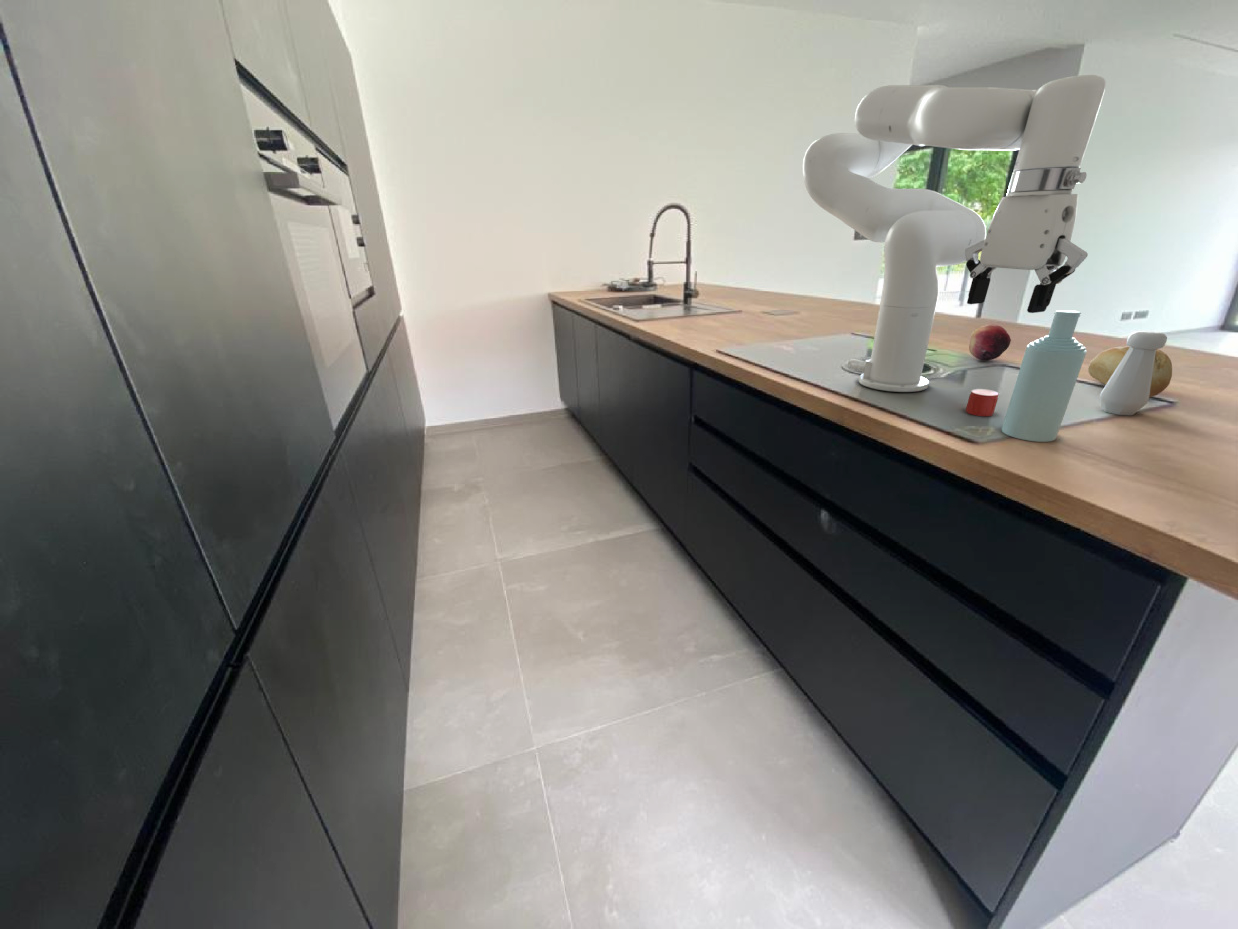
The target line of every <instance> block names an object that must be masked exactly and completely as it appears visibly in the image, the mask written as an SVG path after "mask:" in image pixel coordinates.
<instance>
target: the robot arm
mask: <svg viewBox="0 0 1238 929" xmlns="http://www.w3.org/2000/svg"><path fill="white" fill-rule="evenodd" d="M1106 87H1107V81H1106V78H1104V77H1103V76H1101V75H1097V74H1082V75H1073V76H1068V77H1067V76H1066V77H1062V78H1058V79H1054V80H1050V81H1049V82H1046V83H1044V84H1043V85H1042V86H1041V87H1039V88H1038V89H1020V88H1011V87H1010V88H1009V87H992V86H991V87H990V86H989V87H988V86H987V87H985V86H980V87H979V86H978V87H977V86H972V87H970V86H967V87H963V86H960V87H957V86H956V87H953V86H952V87H951V86H950V87H949V86H946V85H944V84H887V85H882V86H879V87H876V88H874V89H872V90H871V91H869V92H868V93H866V94H865V95H864V96H863V97H862V99H861V100H860V101H859V103H858V104H857V107H856V108H855V111H854V112H855V113H854V126H855V128H856V131H857V132H858V133H857V132H837V133H835V132H834V133H830V134H825V135H823V136H821V137H819V138H817V139H816V140H814V141H813V142H812V143H811V144H810V145H809V146H808V148H806V151H805V153H804V156H803V160H802V177H803V182H804V186H805V188H806V191H807V193H808V194H809V197H810V198H811V199H812V200H813V202H815V204H816V205H818V206H819V207H820V208H822V209H823V210H824V211H826V212H827V213H829V214H831V215H832V216H834V217H835V218H837V219H838V220H840V221H841V222H842V223H843V224H845V225H846V226H848V227H849V228H850V229H852V230H854V232H857V233H859V235H861V236H863V237H864V238H865V239H867V240H868V241H871V242H872V243H873V242H874V243H884V246H883V258H884V259H883V260H884V272H883V273H884V274H883V282H882V283H883V284H882V292H881V297H880V303H879V309H878V315H877V320H876V327H875V333H874V338H873V344H872V348H871V354H870V355H871V357H870V358H869V359H865V360H861V359H860V360H859V359H854V358H850V359H849V360H848V362H847V368H848V369H850V370H851V371H860V372H861V374H860V375H859V377H858V382H859V384H861V385H862V386H864V387H867V388H870V389H873V390H877V391H878V390H879V391H882V392H883V391H885V392H892V393H914V392H920V391H921V392H922V391H924V390H926V389H928V388H929V384H930V381H929V380H928V379H927V378H925V377H924V376H922V374H923V369H924V365H925V361H926V357H927V356H926V355H927V352H928V346H929V344H930V338H931V333H932V328H933V325H934V321H935V320H934V319H935V317H936V316H935V315H936V310H937V307H938V301H939V296H940V280H939V276H938V269H937V268H939V267H949V266H951V267H952V266H957V265H960V264H963V263H965V262H966V264H965V266H966V268H967V270H968V272H969V278H970V279H972V280H971V283H970V287H969V290H968V294H967V301H966V304H968V305H978V304H983V303H984V302H985V300H986V297H987V293H988V290H989V288H990V287H989V286H990V283H991V277H989V275H991V273H993V272H994V271H995V270H996V269H1008V270H1009V269H1011V270H1025V271H1026V270H1027V271H1034V272H1035V274H1036V276H1037V278H1038V280H1039V284H1035V286H1034V287H1033V290H1032V293H1031V297H1030V300H1029V302H1028V306H1027V308H1026V312H1027V313H1030V314H1035V313H1036V314H1037V313H1044V312H1045V311H1046V310H1047V308H1048V307H1049V306H1050V304H1051V301H1052V298H1053V295H1054V292H1055V289H1056V286H1057V285H1058V284H1061V283H1062V282H1063V280H1065V279H1067V278H1068V277H1069V276H1071V275H1072V274H1074V273H1075V271H1076V270H1077V268H1079V266H1080V265H1081V264H1083V262H1084V261H1085V260H1086V259H1087V257H1088V254H1089V253H1088V252H1087V251H1086V250H1084V249H1082V248H1081V247H1079V246H1078V245H1076V244H1075V243H1073V242H1072V241H1071V240H1072V237H1073V232H1074V228H1075V224H1076V218H1077V213H1078V212H1077V211H1078V202H1079V193H1073V190H1075V188H1076V185H1077V184H1083V183H1084V182H1085V181H1086V179H1087V172H1086V171H1081V165H1082V162H1083V159H1084V157H1085V152H1086V150H1087V147H1088V144H1089V142H1090V139H1091V138H1090V137H1091V135H1092V132H1093V129H1094V126H1095V123H1096V120H1097V116H1098V114H1099V110H1100V108H1101V104H1102V102H1103V98H1104V95H1105V92H1106ZM913 145H914V146H918V147H924V146H927V147H929V146H930V147H934V148H935V147H937V148H944V149H953V150H962V151H1006V152H1007V151H1010V152H1011V151H1018V154H1017V157H1016V161H1015V164H1014V167H1013V172H1012V173H1011V178H1010V181H1009V184H1008V189H1007V193H1006V196H1002V197H1001V199H1000V201H999V203H998V206H997V208H996V210H995V211H994V214H993V217H992V219H991V221H990V224H989V226H988V230H987V229H986V224H985V222H984V220H983V218H982V216H981V215H980V214H978V213H977V212H976V211H975V210H973V209H971V208H970V207H967V206H965V205H963V204H961V202H957V201H956V200H954V199H952V198H950V197H948V196H946V195H944V194H942V193H939V192H937V191H935V190H931V189H928V188H891V187H886V186H884V185H881V184H879V183H878V182H875V181H874V180H872V179H873V178H874V177H876V176H879V174H881V173H882V172H883V171H885V170H886V169H887V168H888V167H889V166H890V165H892V164H893V163H894V161H896V160H897V159H898V158H900V156H902V155H903V154H904V153H905V152H906V151H907V150H909V149H910V148H911V147H912V146H913ZM979 254H980V256H979ZM979 257H980V258H979ZM1066 258H1067V259H1066ZM1065 260H1066V261H1065Z"/></svg>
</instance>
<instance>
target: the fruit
mask: <svg viewBox="0 0 1238 929" xmlns="http://www.w3.org/2000/svg"><path fill="white" fill-rule="evenodd" d="M1011 342H1012V339H1011V336H1010V334H1009V333H1008V331H1007V330H1006V329H1005V328H1004V327H1003V326H1001V325H998V324H985V325H982V326H980V327H978V328H976V329H975V330H973V331H972V332H971V335H970V339H969V344H968V350H969V353H970V354H971V355H972V356H973V357H974V358H975V359H977V360H980V361H982V362H983V361H984V362H988V361H992V360H995V359H998V358H999V357H1000V356H1002V355H1003V354H1004V352H1005V351H1007V350H1008V349H1009V347H1010V345H1011Z"/></svg>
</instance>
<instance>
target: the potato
mask: <svg viewBox="0 0 1238 929" xmlns="http://www.w3.org/2000/svg"><path fill="white" fill-rule="evenodd" d="M1129 348H1130V346H1127V345H1124V346H1118V347H1116V346H1115V347H1114V346H1113V347H1111V348H1108V349H1105V350H1102V351H1101V352H1099V353H1098V354H1097V355H1096V356H1095V357H1094V358H1093V359H1091V360H1090V362H1089V364H1088V368H1087V371H1088V374H1089V375H1090V377H1091V378H1092V379H1095V380H1096V381H1098V382H1100V383H1102V384H1103V385H1104V386H1106V384H1107V382H1108V381H1109V379H1110V378H1111V376H1112V375H1113V373H1114V371H1115V370H1116V368H1117V367H1118V365H1119V363H1120V362H1121V360H1122V359H1123V357H1124V356H1125V354H1126V352H1127V351H1128V349H1129ZM1172 377H1173V363H1172V359H1171V358H1170V357H1169V355H1168V354H1166V353H1165V352H1163V351H1162V350H1160V349H1156V354H1155V360H1154V366H1153V373H1152V380H1151V387H1150V395H1149V398H1153V397H1155V396H1158V395H1160V394H1161V393H1162V392H1163V391H1165V390H1166V389H1167V388H1168V386H1169V385H1170V384H1171V380H1172Z"/></svg>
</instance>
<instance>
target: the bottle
mask: <svg viewBox="0 0 1238 929" xmlns="http://www.w3.org/2000/svg"><path fill="white" fill-rule="evenodd" d="M1081 314H1082V312H1081V311H1080V310H1071V309H1058V310H1055V312H1054V316H1053V319H1052V322H1051V325H1050V327H1049V332H1048V334H1047V335H1044V336H1042V337H1040V338H1039V339H1035V340H1034V341H1031V342H1030V343H1029V344H1027V345H1026V347H1025V350H1024V354H1023V357H1022V360H1021V364H1020V368H1019V371H1018V374H1017V377H1016V380H1015V383H1014V387H1013V390H1012V394H1011V397H1010V400H1009V404H1008V406H1007V410H1006V414H1005V417H1004V420H1003V423H1002V426H1001V432H1002V433H1003V434H1005V435H1007V436H1009V437H1011V438H1015V439H1018V440H1023V441H1027V442H1036V443H1037V442H1038V443H1047V442H1053V441H1056V439H1057V436H1058V435H1059V434H1058V433H1059V431H1060V428H1061V425H1062V423H1063V419H1064V417H1065V415H1066V411H1067V409H1068V405H1069V403H1070V401H1071V400H1070V399H1071V397H1072V394H1073V392H1074V389H1075V386H1076V383H1077V380H1078V377H1079V374H1080V372H1081V369H1082V366H1083V363H1084V360H1085V357H1086V355H1087V352H1088V350H1087V349H1086V346H1085V345H1083V343H1081V342H1080V341H1079V340H1077V339H1076V337H1073V336H1074V333H1075V330H1076V327H1077V324H1078V321H1079V319H1080V317H1081Z"/></svg>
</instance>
